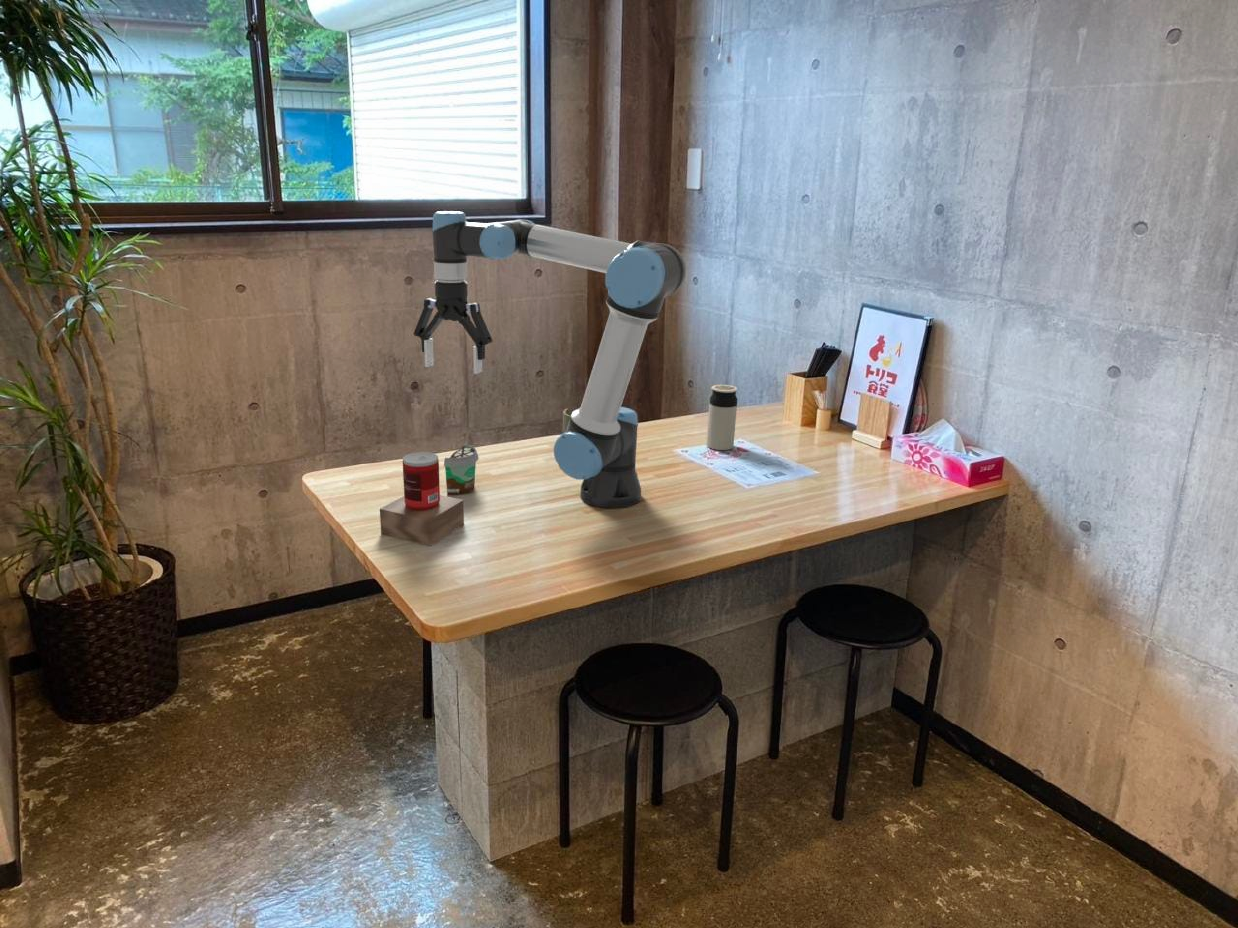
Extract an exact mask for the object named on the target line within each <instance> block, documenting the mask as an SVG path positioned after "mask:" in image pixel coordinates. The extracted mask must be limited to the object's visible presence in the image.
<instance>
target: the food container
mask: <svg viewBox="0 0 1238 928" xmlns="http://www.w3.org/2000/svg"><path fill="white" fill-rule="evenodd" d="M478 453H479V452H478V450H477V449H476V447H474V446H472V445H470V444H465V443H461V447H460V448H459V449H458V450H456V451H454V452H453V453H452V454H451V455H450V456H449V457H444V460H443V462H444V463H443V467H444V468H445V470H444V471H445V479H446V481H445V482H446V483H445V485H446V494H447V496H459V495H466V494H470V493H471V492H473V491H474V490H475V482H476V481H475V480H476V465H477V464H476V463H477V462H478V460H479V454H478Z"/></svg>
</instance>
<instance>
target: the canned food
mask: <svg viewBox="0 0 1238 928" xmlns="http://www.w3.org/2000/svg"><path fill="white" fill-rule="evenodd" d="M439 459H440V458H439V455H438V454H436V453H434V452H428V451H416V452H411V453H407V454H406V455H404V456H403V457H402V478H403V494H404V495H403V496H404V499H405V504H406V506H407V507H408V508H409V509H412V510H418V511H423V510H429V509H433V508H435V507H436V506H438V505H439V501H440V495H441V491H440V490H441V489H440V462H439V461H440V460H439Z"/></svg>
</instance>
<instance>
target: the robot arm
mask: <svg viewBox="0 0 1238 928" xmlns="http://www.w3.org/2000/svg"><path fill="white" fill-rule="evenodd" d="M431 233H432V243H433V255H434V257H433V272H434V275H433V278H434V279H435V281H434V296H435V298H436V299H434V297H429V298H425V299H424V301H423V309H422V311H421V314H420V316H419V319H418V321H417V324H416V326H415V328H414V331H413V335H414V336H415V337H418V338H420V340H421V351H422V353H424V367H425V368H429V367H432V366H434V364H435V359H434V358H435V356H434V338H432V335H433V333H434V332H435V331H436V329H437V328H438V327H439V325H440V324H442V322H443V320H444V321H452V322H457V321H458V323H459V324H461V326H463V328H464V330H465V331H466V333H467V334H468V335H469V336H470V338H471V339H472V341H473V342H474V344H475V345H474V346H473V348H472V349H473V352H472V353H473V374H474V375H478V374H479V373H482V372H483V360H485V357H486V345H489V344H492V343H493V338H492V336H491V334H490V331H489V329H488V326H487V324H486V322H485V320H484V318H483V315H482V313H481V307H480V303H479V302H473V303H468V282H467V281H466V279H467V278H468V266H467V265H468V262H467V261H468V259H467V258H468V257H477V258H483V259H490V260H506V259H508V258H510V256H511V255H521V256H527V257H532V258H538V259H541V260H545V261H551V262H555V263H559V264H564V265H569V266H572V267H577V268H582V269H586V270H591V271H594V272H599V273H603V274H605V287H606V288H607V291H608V293H607V296H606V300H605V303H606V305H607V307H608V309H609V315H608V317H607V321H606V324H605V327H604V331H603V334H602V337H601V341H600V344H599V346H598V350H597V353H596V357H595V360H594V362H593V366H592V369H591V372H590V376H589V379H588V382H587V385H586V387H585V388H586V389H585V392H584V394H583V399H582V402H581V405H580V407H579V408H577V409H574V410H573V411H572V412H571V414H570V415H571V417H570V420H569V424H568V427H567V430H566V432H565V433H561V434H560V435H559V437H558V438H557V439H556V440H555V442H554V446H553V457H554V460H555V462H556V463H557V465H558V467H559V469H560V470H561V471H562V472H563V473H564V474H565V475H567V476H568V477H570V478H572V479H574V480H575V479H576V480H582V482H581V486H580V493H579V494H580V499H581V500H582V501H583V502H584V503H586V504H588V505H591V506H595V507H599V508H605V509H606V508H607V509H619V508H626V507H631V506H634V505H636V504H638V503H639V502H640V501H641V499H642V487H641V484H640V480H639V478H638V477H639V476H638V472H637V469H636V460H637V458H636V457H637V441H638V427H639V423H638V413H637V412H636V411H635V410H634V409H632V408H628V407H625V406H622V404H623V401H624V398H625V395H626V392H627V389H628V388H629V387H628V385H629V383H630V380H631V377H632V374H633V370H634V368H635V365H636V362H637V359H638V356H639V354H640V353H639V352H640V351H641V347H642V343H643V342H644V338H645V335H646V332H647V329H648V326H649V324H650V323H652V322H655V321H656V320H658V318H659V317H660V313H661V309H662V308H663V303H664V301H665V298H667V297H670V296H671V295H674V294H675V293H677V291H679V289H680V288H681V286H682V285H683V283H684V281H685V278H686V273H687V272H686V271H687V269H686V262H685V260H684V257H683V255H682V254H681V252H679V250H678V249H677V248H675V247H673V246H672V245H670V244H667V243H659V242H649V241H644V240H635V241H634V242H633V243H629V242H625V241H621V240H615V239H610V238H605V237H602V236H601V237H600V236H594V235H591V234H586V233H580V232H575V231H571V230H566V229H561V228H557V227H556V228H555V227H551V226H546V225H542V224H536V223H534V222H533V221H531V220H528V219H521V218H519V219H515V220H507V221H506V220H505V221H500V222H499V221H496V222H488V223H487V222H485V223H484V222H469V221H467V217H466V213H464V212H463V211H457V210H456V211H454V210H449V211H447V210H443V211H436V212H435V213H434V214H433V217H432V231H431ZM434 308H436V311H437V312H436V313H435V314H434V316H433V319H431V321H430V318H431V316H432V314H433V310H434ZM468 313H470V315H471V316H470V315H469V314H468ZM429 321H430V322H429Z"/></svg>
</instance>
